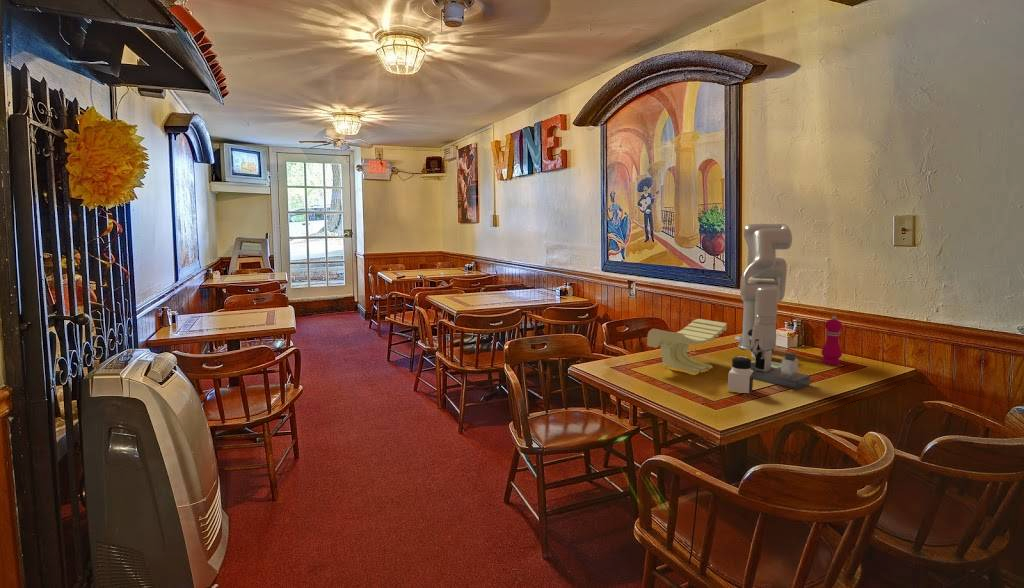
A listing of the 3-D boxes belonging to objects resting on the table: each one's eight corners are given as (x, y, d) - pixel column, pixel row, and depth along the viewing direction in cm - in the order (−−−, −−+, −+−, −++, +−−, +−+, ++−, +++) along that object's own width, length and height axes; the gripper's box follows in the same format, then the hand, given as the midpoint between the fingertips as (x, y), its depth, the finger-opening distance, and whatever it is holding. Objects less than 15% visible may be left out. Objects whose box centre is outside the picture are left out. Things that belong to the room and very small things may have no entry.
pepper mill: (835, 361, 228) (839, 314, 225) (844, 366, 221) (848, 317, 218) (817, 361, 229) (820, 314, 226) (825, 365, 222) (829, 317, 219)
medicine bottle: (749, 395, 188) (751, 361, 187) (727, 392, 192) (728, 358, 190) (752, 389, 194) (754, 356, 193) (731, 386, 198) (732, 354, 196)
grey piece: (733, 375, 212) (734, 346, 210) (747, 370, 217) (748, 342, 216) (795, 390, 192) (797, 358, 191) (809, 384, 198) (811, 354, 197)
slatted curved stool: (691, 358, 237) (692, 317, 234) (725, 365, 224) (726, 323, 222) (646, 370, 219) (647, 327, 216) (680, 380, 206) (681, 334, 204)
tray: (744, 367, 221) (744, 363, 221) (759, 363, 227) (759, 358, 227) (771, 374, 212) (771, 369, 212) (786, 368, 219) (786, 364, 218)
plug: (755, 370, 207) (756, 344, 206) (760, 368, 210) (762, 342, 208) (765, 372, 204) (766, 346, 203) (770, 370, 206) (772, 344, 205)
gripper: (767, 315, 212) (765, 361, 215) (743, 321, 202) (741, 369, 205) (786, 318, 206) (784, 365, 209) (763, 324, 196) (760, 373, 199)
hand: (762, 367), depth 207 cm, fingers closed on plug, 3 cm apart
